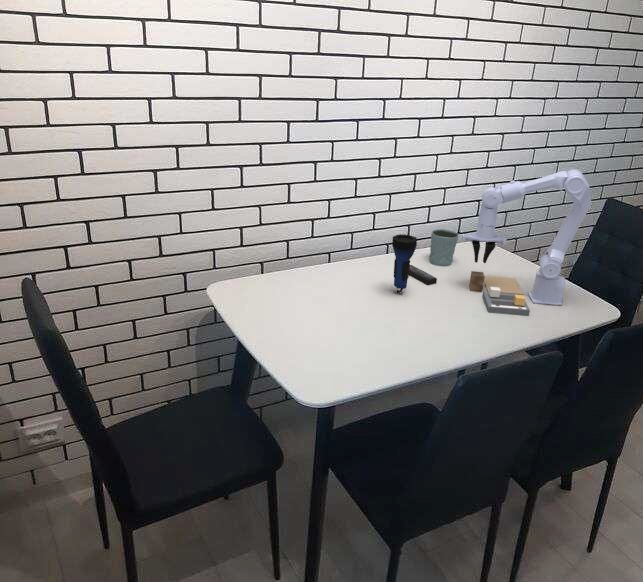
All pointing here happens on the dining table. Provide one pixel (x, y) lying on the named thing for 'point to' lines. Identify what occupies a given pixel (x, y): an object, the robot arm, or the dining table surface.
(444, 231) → the green cup
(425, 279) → the multiport hub
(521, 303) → the switch tab
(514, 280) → the mat
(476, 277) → the block
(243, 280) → the dining table surface
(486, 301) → the switch panel
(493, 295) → the switch tab
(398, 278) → the flashlight
